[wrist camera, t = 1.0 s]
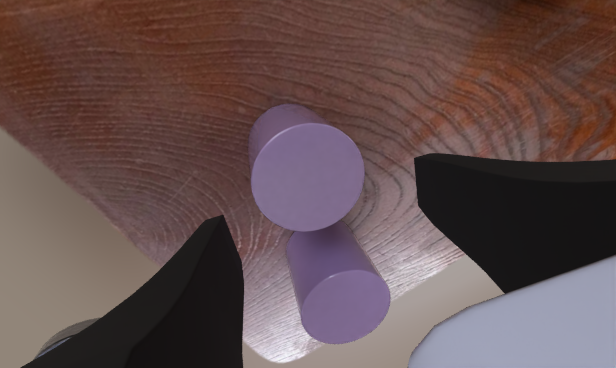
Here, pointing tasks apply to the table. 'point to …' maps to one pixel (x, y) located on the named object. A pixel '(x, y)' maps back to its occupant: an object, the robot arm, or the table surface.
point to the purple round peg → (335, 284)
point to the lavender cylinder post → (303, 168)
